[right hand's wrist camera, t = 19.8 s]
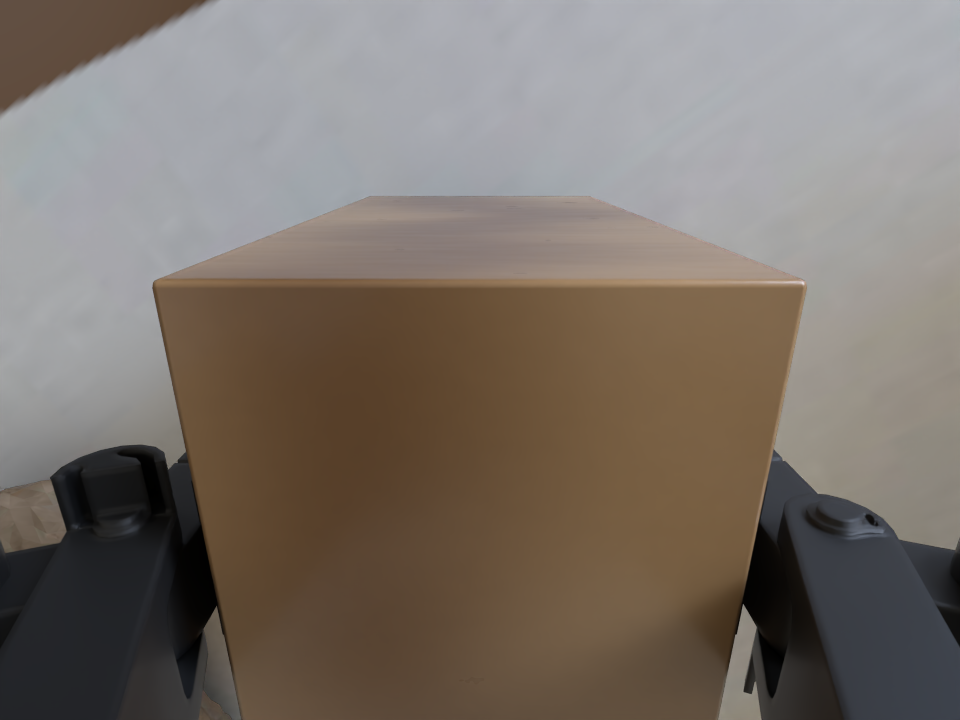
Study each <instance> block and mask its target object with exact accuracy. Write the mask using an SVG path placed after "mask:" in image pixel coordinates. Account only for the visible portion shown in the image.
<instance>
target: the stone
mask: <svg viewBox="0 0 960 720" xmlns="http://www.w3.org/2000/svg"><path fill="white" fill-rule="evenodd" d="M65 533H66V527H65V524H64V521H63V518H62V514H61V511H60V508H59V505H58V501H57V498H56V495H55V492H54V488H53V485H52V482H51V480H45V481H39V482H35V483H31V484H27V485H22V486H17V487H12V488H8V489H5V490H3V491H1V492H0V540H1V543H2V546H3V549H4V551H5V553H9V552H14V551H19V550H24V549H30V548H35V547H40V546H46V545H51V544H56V543H60V542H61V540H62V538H63V537H64V535H65ZM199 720H232V719H231V717H230V716H229V715H228V714H226V713H225V712H223V710H222V708H221V706H220V705H219V704H217V703H216V702H214V701H212V700H210V698H209V697H208V696H207V694H206V693H205V692H204V690H203V692H202V699H201V706H200V713H199Z"/></svg>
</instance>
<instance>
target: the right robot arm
mask: <svg viewBox="0 0 960 720" xmlns="http://www.w3.org/2000/svg"><path fill="white" fill-rule="evenodd" d="M50 479H51V482H52V485H53V488H54V492H55V495H56V498H57V501H58V505H59V508H60V511H61V514H62V518H63V521H64V524H65V527H66V533H65V535H64V537H63V538H62V540H61V542H60V543H56V544H51V545H46V546H40V547H35V548H30V549H24V550H19V551H14V552H9V553H5V551H4V549H3V546H2V543H1V540H0V720H199V713H200V706H201V699H202V692H203V685H204V678H205V671H206V664H207V657H208V651H207V643H206V639H205V634H204V630H203V629H204V627H205V625H206V623H207V622H208V620H209V618H210V616H211V615H212V613H213V611H214V610H215V608H216V606H217V608H218V603H217V598H216V593H215V588H214V583H213V579H212V574H211V569H210V564H209V559H208V554H207V550H206V545H205V540H204V535H203V530H202V525H201V520H200V516H199V511H198V506H197V501H196V496H195V491H194V487H193V482H192V477H191V472H190V467H189V462H188V458H187V453H186V452H185V453H184V454H183V455H182V456H181V457H180V458H179V459H178V463H175V464H174V465H173V466H172V467H171V468H170V469H169V470H168V468H167V463H166V459H165V454H164V452H162V451H161V450H159V449H158V448H156V447H152V446H146V445H127V446H118V447H114V448H109V449H104V450H100V451H97V452H94V453H91V454H88V455H85V456H83V457H80V458H78V459H76V460H74V461H72V462H70V463H69V464H67V465H65V466H63V467H61V468H60V469H59V470H58V471H57V472H56V473H55V474H54V475H53V476H52V477H50ZM743 604H744V606H745V607H746V609H747V611H748V612H749V614H750V616H751V618H752V619H753V621H754V623H755V624H756V626H757V630H756V634H755V639H754V643H753V648H752V652H751V657H750V661H749V666H748V670H747V675H746V679H745V686H744V692H746V693H749V694H752V691H753V686H754V682H755V681H756V684H757V691H758V698H759V705H760V711H761V718H762V720H960V539H959V541H958V544H957V547H956V550H950V549H945V548H939V547H934V546H929V545H923V544H918V543H913V542H907V541H903V540H899V539H898V537H897V536H896V534H895V532H894V530H893V529H892V528H891V527H890V526H889V525H888V524H887V523H886V521H885V520H884V519H883V518H881V517H880V516H878V515H877V514H875V513H873V512H872V511H870V510H869V509H867V508H865V507H863V506H861V505H858V504H856V503H853V502H851V501H849V500H846V499H842V498H838V497H834V496H830V495H824V494H817V493H816V492H815V491H814V490H813V489H812V488H811V487H810V486H809V485H808V484H807V483H806V482H805V481H804V480H803V479H802V478H801V477H800V476H799V475H798V473H797V472H796V471H795V470H794V469H793V468H792V467H791V466H790V465H789V464H788V463H787V462H786V461H782V457H781V456H780V455H779V454H778V453H777V452H776V451H775V450H774V449H773V454H772V459H771V464H770V469H769V474H768V479H767V483H766V488H765V493H764V498H763V503H762V508H761V512H760V517H759V522H758V527H757V532H756V537H755V542H754V546H753V551H752V556H751V561H750V566H749V571H748V576H747V580H746V585H745V590H744V595H743V600H742V605H741V609H740V614H739V619H738V624H737V629H736V634H737V631H738V626H739V621H740V616H741V611H742V606H743ZM218 613H219V618H220V623H221V628H222V633H223V635H224V632H223V627H222V622H221V617H220V612H219V608H218Z"/></svg>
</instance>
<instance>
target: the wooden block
mask: <svg viewBox="0 0 960 720" xmlns="http://www.w3.org/2000/svg"><path fill="white" fill-rule="evenodd" d="M152 288H153V293H154V298H155V303H156V308H157V312H158V317H159V322H160V327H161V332H162V337H163V341H164V346H165V351H166V356H167V361H168V366H169V370H170V375H171V380H172V385H173V390H174V395H175V400H176V404H177V409H178V414H179V419H180V424H181V429H182V433H183V438H184V443H185V448H186V453H187V458H188V462H189V467H190V472H191V477H192V482H193V487H194V491H195V496H196V501H197V506H198V511H199V516H200V520H201V525H202V530H203V535H204V540H205V545H206V550H207V554H208V559H209V564H210V569H211V574H212V579H213V583H214V588H215V593H216V598H217V603H218V608H219V612H220V617H221V622H222V627H223V632H224V637H225V641H226V646H227V651H228V656H229V661H230V666H231V670H232V675H233V680H234V685H235V690H236V695H237V700H238V704H239V709H240V714H241V719H242V720H718V716H719V711H720V707H721V702H722V697H723V692H724V687H725V682H726V677H727V673H728V668H729V663H730V658H731V653H732V648H733V643H734V639H735V634H736V629H737V624H738V619H739V614H740V609H741V605H742V600H743V595H744V590H745V585H746V580H747V576H748V571H749V566H750V561H751V556H752V551H753V546H754V542H755V537H756V532H757V527H758V522H759V517H760V512H761V508H762V503H763V498H764V493H765V488H766V483H767V479H768V474H769V469H770V464H771V459H772V454H773V449H774V445H775V440H776V435H777V430H778V425H779V420H780V415H781V411H782V406H783V401H784V396H785V391H786V386H787V382H788V377H789V372H790V367H791V362H792V357H793V352H794V348H795V343H796V338H797V333H798V328H799V323H800V318H801V314H802V309H803V304H804V299H805V294H806V289H807V286H806V282H805V281H804V280H802V279H800V278H797V277H794V276H792V275H789V274H787V273H784V272H782V271H779V270H777V269H774V268H771V267H769V266H766V265H764V264H761V263H759V262H756V261H754V260H751V259H749V258H746V257H743V256H741V255H738V254H736V253H733V252H731V251H728V250H726V249H723V248H720V247H718V246H715V245H713V244H710V243H708V242H705V241H703V240H700V239H697V238H695V237H692V236H690V235H687V234H685V233H682V232H680V231H677V230H674V229H672V228H669V227H667V226H664V225H662V224H659V223H657V222H654V221H652V220H649V219H646V218H644V217H641V216H639V215H636V214H634V213H631V212H629V211H626V210H623V209H621V208H618V207H616V206H613V205H611V204H608V203H606V202H603V201H600V200H598V199H595V198H593V197H590V196H369V197H367V198H364V199H362V200H359V201H357V202H354V203H352V204H349V205H346V206H344V207H341V208H339V209H336V210H334V211H331V212H329V213H326V214H323V215H321V216H318V217H316V218H313V219H311V220H308V221H306V222H303V223H300V224H298V225H295V226H293V227H290V228H288V229H285V230H283V231H280V232H277V233H275V234H272V235H270V236H267V237H265V238H262V239H259V240H257V241H254V242H252V243H249V244H247V245H244V246H242V247H239V248H236V249H234V250H231V251H229V252H226V253H224V254H221V255H219V256H216V257H213V258H211V259H208V260H206V261H203V262H201V263H198V264H196V265H193V266H190V267H188V268H185V269H183V270H180V271H178V272H175V273H172V274H170V275H167V276H165V277H162V278H160V279H157V280H155V281H154V282H153V287H152Z"/></svg>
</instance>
